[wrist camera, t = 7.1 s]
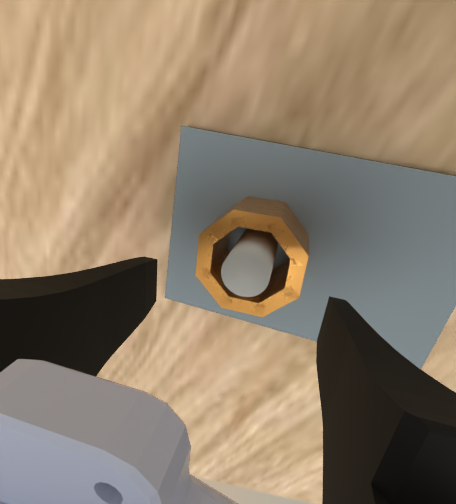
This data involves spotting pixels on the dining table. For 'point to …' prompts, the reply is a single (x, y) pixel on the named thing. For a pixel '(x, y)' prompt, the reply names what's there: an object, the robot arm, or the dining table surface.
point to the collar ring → (282, 277)
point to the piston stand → (322, 236)
